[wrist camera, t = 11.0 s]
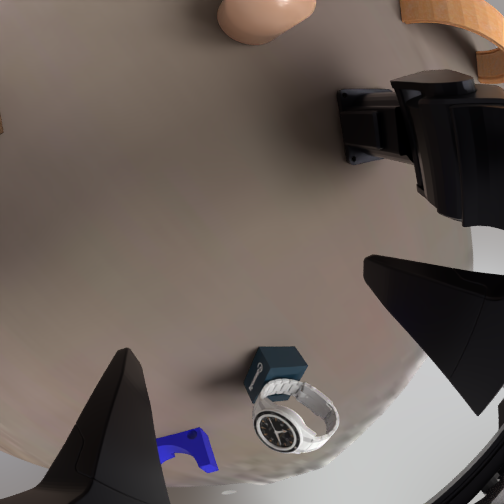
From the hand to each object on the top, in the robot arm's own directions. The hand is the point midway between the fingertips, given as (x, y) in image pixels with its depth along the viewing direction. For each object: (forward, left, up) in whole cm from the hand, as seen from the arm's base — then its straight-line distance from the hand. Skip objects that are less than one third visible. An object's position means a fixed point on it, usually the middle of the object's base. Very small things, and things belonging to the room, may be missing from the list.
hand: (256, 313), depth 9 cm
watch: (-2, +18, -12) cm, 22 cm away
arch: (-35, -15, -12) cm, 40 cm away
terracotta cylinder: (-7, -14, -12) cm, 20 cm away
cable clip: (+15, +28, -12) cm, 34 cm away
